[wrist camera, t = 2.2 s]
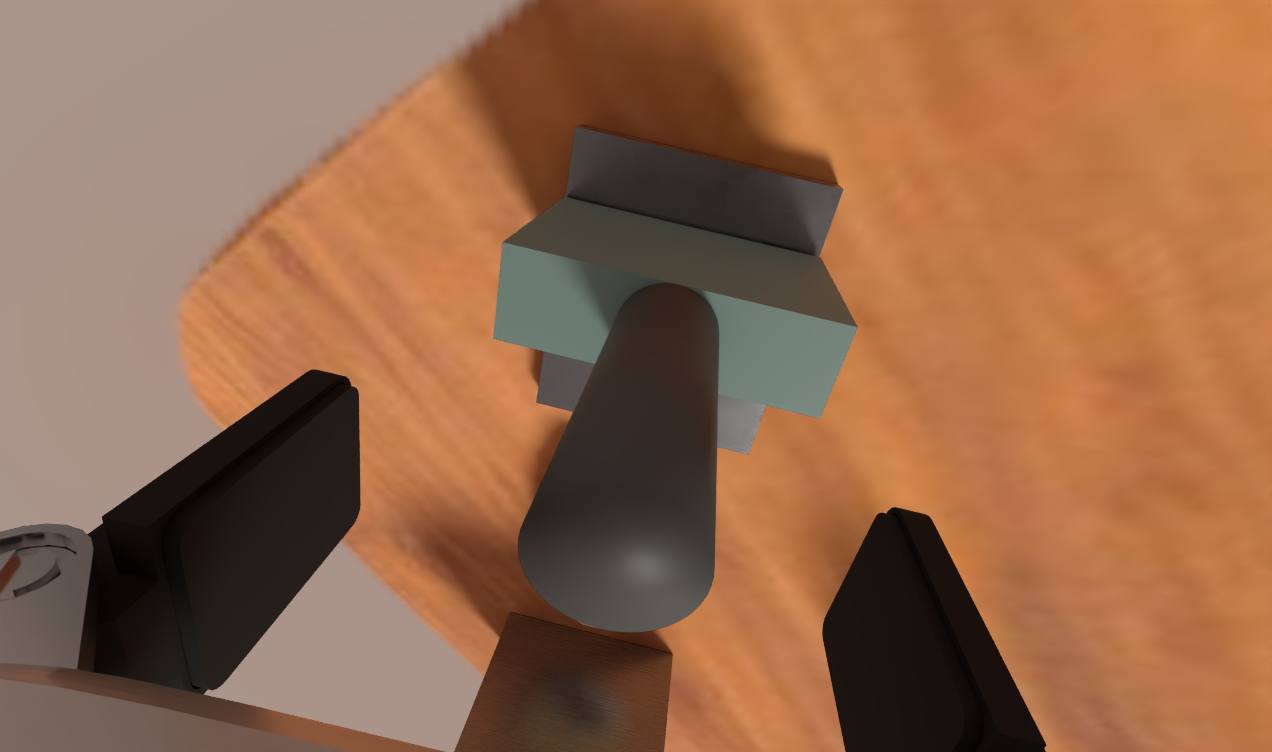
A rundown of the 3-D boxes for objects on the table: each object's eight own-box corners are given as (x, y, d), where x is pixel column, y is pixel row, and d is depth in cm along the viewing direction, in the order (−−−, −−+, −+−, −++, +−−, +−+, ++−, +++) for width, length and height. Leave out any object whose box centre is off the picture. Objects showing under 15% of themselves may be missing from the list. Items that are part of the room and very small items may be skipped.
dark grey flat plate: (581, 124, 22) (575, 126, 22) (838, 184, 22) (843, 189, 21) (542, 392, 28) (536, 402, 27) (747, 442, 28) (748, 454, 27)
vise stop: (510, 612, 35) (451, 757, 28) (672, 654, 35) (658, 811, 28) (505, 644, 37) (449, 791, 29) (661, 685, 36) (645, 843, 29)
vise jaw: (563, 196, 22) (290, 400, 8) (820, 257, 22) (988, 573, 8) (553, 271, 24) (304, 552, 10) (794, 329, 24) (899, 705, 9)
